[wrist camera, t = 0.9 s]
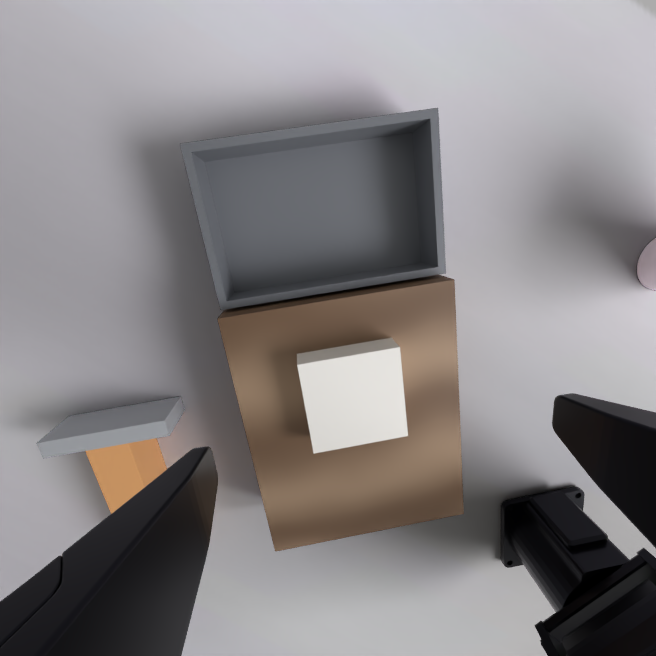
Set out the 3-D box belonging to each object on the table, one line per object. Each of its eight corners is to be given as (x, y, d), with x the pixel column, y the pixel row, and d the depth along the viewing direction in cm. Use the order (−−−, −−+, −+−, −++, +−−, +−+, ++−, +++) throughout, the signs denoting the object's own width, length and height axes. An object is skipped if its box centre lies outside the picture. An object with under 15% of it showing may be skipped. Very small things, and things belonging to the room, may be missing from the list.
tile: (399, 420, 20) (407, 436, 18) (312, 436, 19) (313, 453, 18) (391, 337, 18) (399, 346, 17) (296, 353, 18) (297, 364, 16)
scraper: (217, 518, 25) (208, 555, 22) (120, 536, 25) (97, 577, 22) (181, 395, 22) (164, 420, 19) (69, 415, 22) (36, 443, 19)
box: (425, 267, 21) (445, 273, 18) (230, 298, 21) (220, 310, 18) (416, 125, 19) (437, 107, 16) (197, 156, 18) (179, 143, 16)
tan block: (438, 471, 26) (463, 513, 22) (278, 502, 25) (275, 551, 21) (425, 270, 21) (454, 279, 18) (231, 301, 21) (217, 318, 17)
